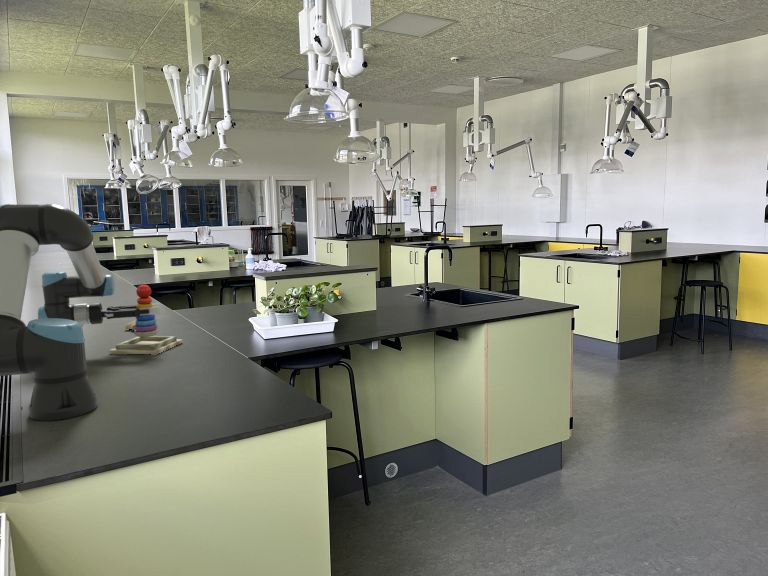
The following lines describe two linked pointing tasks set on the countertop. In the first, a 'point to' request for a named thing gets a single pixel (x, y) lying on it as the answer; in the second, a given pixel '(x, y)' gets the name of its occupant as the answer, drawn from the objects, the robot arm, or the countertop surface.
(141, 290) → the stacking toy
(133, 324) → the beige animal figurine
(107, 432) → the countertop surface
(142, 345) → the rimmed tray
